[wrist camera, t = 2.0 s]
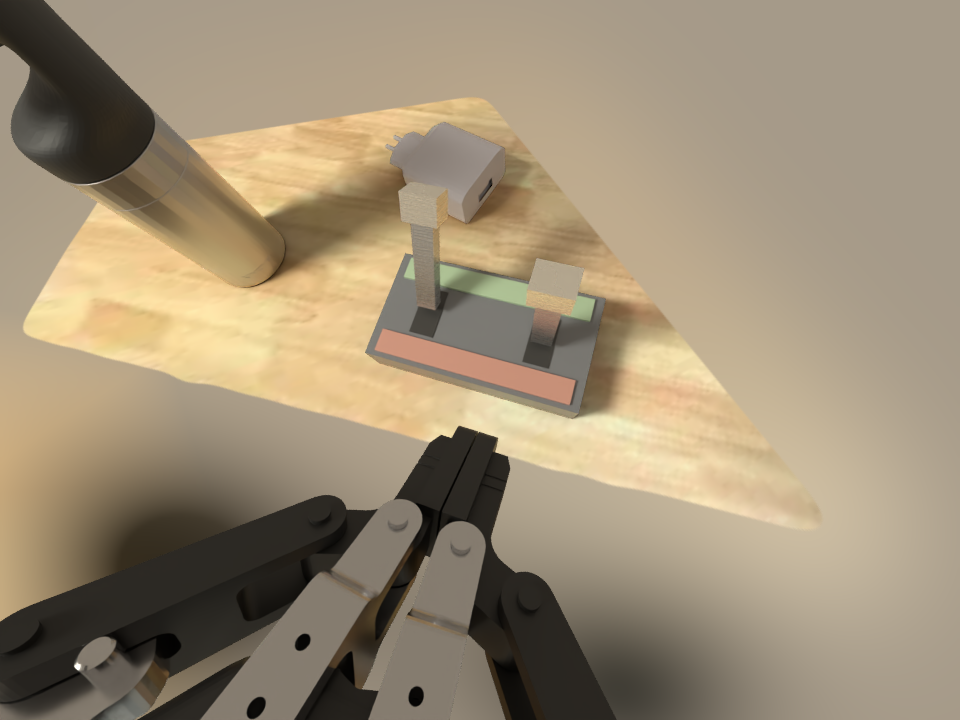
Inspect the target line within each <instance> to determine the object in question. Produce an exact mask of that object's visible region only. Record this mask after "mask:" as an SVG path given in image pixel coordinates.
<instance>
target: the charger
mask: <svg viewBox="0 0 960 720" xmlns="http://www.w3.org/2000/svg"><path fill="white" fill-rule="evenodd" d="M393 138H394V139H395V140H397V141H399V143H398V144H397V145H396V146H395V148H394V147H392V146H390V145H388V144H387V145H386V148H387V149H389V150H391V151H393V153H392V156H391V159H390V164H392V165H394V166H396V167H398V168H400V169H402V172H403V177H404V180H405V182H406V185H408V184H409V183H410V182H417V183H422V184H427V185H433V186H438V187H443V188H448V215H450V216H452V217H454V218H456V219H458V220H460V221H462V222H464V223H469V222H470V220H471V219H472V218H473V216H474V215H475V214H476V212H477V211H478V210H479V208H480V207H481V206H482V204H483V203H484V202H485V200H486V199H487V198H488V196H489V195H490V194H491V192H492V191H493V190H494V188H495V187H496V186H497V184H498V183H499V182H500V180H501V179H502V177H503V176H504V173H505V148H503V147H501V146H499V145H496V144H494V143H492V142H490V141H487V140H485V139H483V138H480V137H478V136H476V135H473V134H471V133H469V132H467V131H464V130H462V129H460V128H457V127H455V126H453V125H450V124H448V123H446V122H443V123H440V124H438V125H435V126H433V127H432V128H431V130H430V131H429V132H428V133H427V134H426V136H425V137H424V136H422V135H420V134H418V133H415V132H411V133H408V134H406V135H405V136H404V137H403V138H400V137H398V136H396V135H394V137H393ZM491 184H493V185H492V186H491ZM490 186H491V188H490V189H489V190H488V188H489V187H490ZM487 190H488V192H487V193H486V194H485V192H486V191H487ZM484 194H485V196H484V197H483V198H482V196H483V195H484ZM481 198H482V200H481V201H480V202H479V200H480V199H481Z"/></svg>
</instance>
